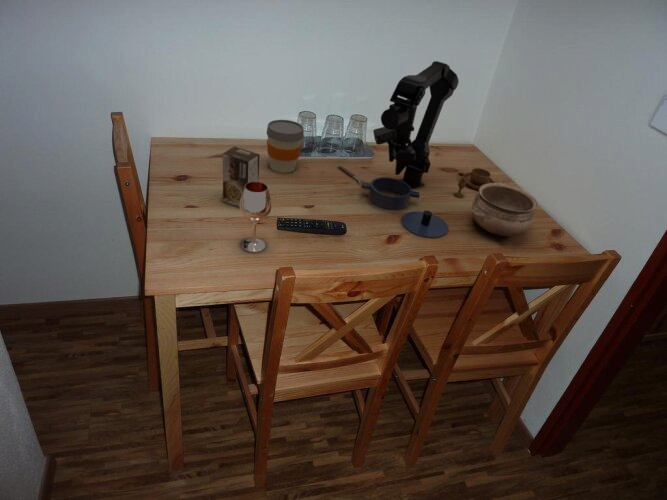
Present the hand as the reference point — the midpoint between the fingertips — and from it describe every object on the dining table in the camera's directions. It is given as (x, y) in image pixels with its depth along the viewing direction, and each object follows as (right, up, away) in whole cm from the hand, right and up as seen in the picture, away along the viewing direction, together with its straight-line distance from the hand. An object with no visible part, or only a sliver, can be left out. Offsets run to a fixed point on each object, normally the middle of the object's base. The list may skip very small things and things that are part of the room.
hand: (393, 168), depth 162 cm
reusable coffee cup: (-37, +3, +18) cm, 41 cm away
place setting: (+30, -2, +25) cm, 39 cm away
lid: (+9, -18, -4) cm, 21 cm away
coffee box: (-48, -11, -5) cm, 50 cm away
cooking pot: (+32, -20, 0) cm, 38 cm away
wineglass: (-41, -25, -23) cm, 53 cm away
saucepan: (-1, -10, +7) cm, 12 cm away
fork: (-12, -1, +18) cm, 21 cm away
